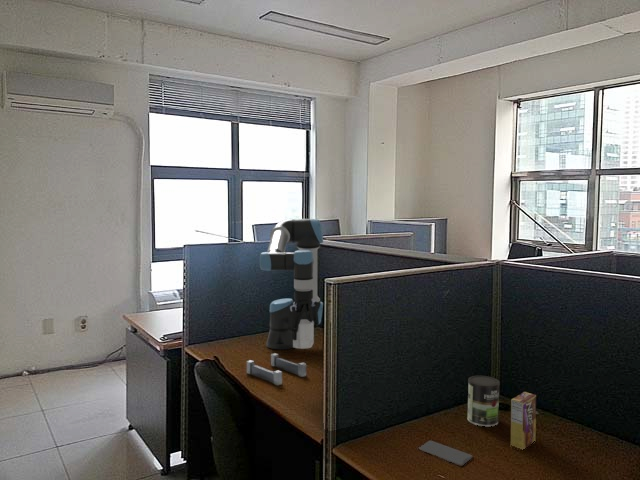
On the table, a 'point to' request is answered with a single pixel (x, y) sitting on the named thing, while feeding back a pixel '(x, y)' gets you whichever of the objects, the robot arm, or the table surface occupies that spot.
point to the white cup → (305, 333)
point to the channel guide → (277, 375)
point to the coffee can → (483, 400)
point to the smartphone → (446, 452)
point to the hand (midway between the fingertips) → (303, 345)
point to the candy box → (523, 420)
